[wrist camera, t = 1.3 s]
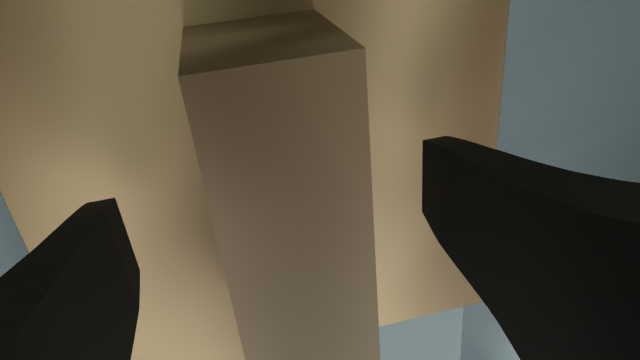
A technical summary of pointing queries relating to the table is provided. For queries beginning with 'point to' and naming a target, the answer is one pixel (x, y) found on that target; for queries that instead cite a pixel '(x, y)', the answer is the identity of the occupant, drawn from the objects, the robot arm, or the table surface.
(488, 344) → the table surface
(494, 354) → the table surface
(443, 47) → the oak lid
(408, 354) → the rubber mat
